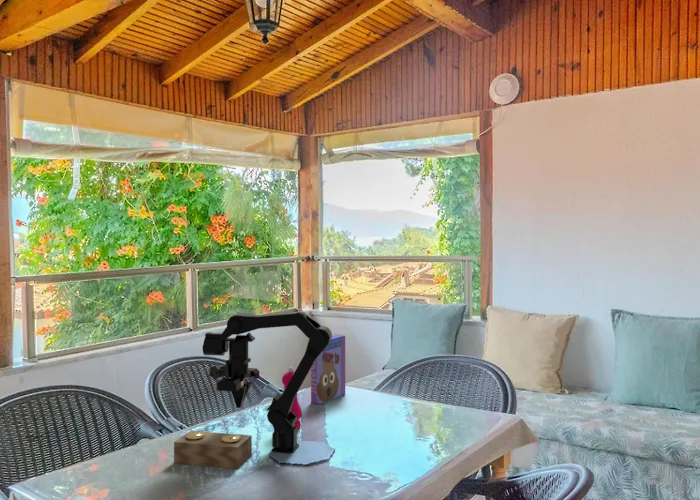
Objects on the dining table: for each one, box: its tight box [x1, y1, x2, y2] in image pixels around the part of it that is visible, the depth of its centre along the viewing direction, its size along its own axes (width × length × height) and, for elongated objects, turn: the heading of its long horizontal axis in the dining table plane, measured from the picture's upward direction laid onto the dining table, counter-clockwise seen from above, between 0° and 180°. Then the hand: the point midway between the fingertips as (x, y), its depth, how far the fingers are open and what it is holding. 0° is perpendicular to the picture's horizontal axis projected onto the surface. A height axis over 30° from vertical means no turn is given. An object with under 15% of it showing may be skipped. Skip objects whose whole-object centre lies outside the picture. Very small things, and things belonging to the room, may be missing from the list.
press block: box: [173, 430, 253, 470], centre depth 169 cm, size 19×10×6 cm, turn 77°
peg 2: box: [222, 433, 241, 443], centre depth 168 cm, size 5×5×6 cm
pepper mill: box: [281, 366, 303, 430], centre depth 198 cm, size 7×7×20 cm
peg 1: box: [185, 431, 205, 440], centre depth 170 cm, size 5×5×6 cm
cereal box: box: [310, 334, 346, 406], centre depth 234 cm, size 17×5×24 cm, turn 149°
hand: (238, 407), depth 179 cm, fingers closed
